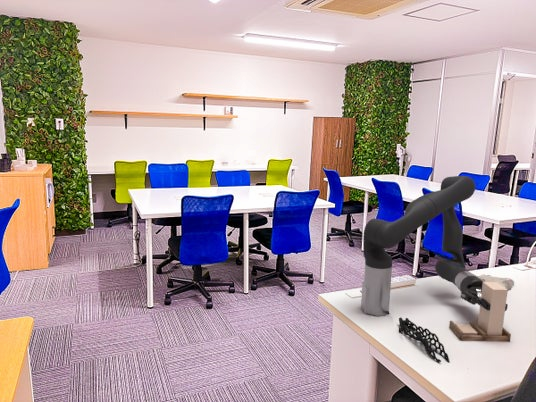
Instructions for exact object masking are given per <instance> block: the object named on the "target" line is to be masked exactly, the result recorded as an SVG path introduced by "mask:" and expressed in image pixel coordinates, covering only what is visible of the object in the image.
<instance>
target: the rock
mask: <svg viewBox="0 0 536 402" xmlns="http://www.w3.org/2000/svg"><path fill="white" fill-rule="evenodd" d="M476 276H477V277H478V278H480V279H481V280H482V281H484V282H498V283H499V284H500V285H502V286H503V287H505V288H506V289H507V290H509V291H510V290H511V289H512V288H513V286H514V284H515V280H513V279H511V277H499V276H498V277H497V276H490V275H486V274H481V275H476Z"/></svg>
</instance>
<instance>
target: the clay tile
mask: <svg viewBox="0 0 536 402" xmlns="http://www.w3.org/2000/svg"><path fill="white" fill-rule="evenodd" d="M455 325H456V326H457V327H458V328H459V329H460V330H461V331H462V332H463V335H478V333H477V332H476V331H475V330H474V329H473V328H472V327H471V326H470V323H455Z"/></svg>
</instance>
